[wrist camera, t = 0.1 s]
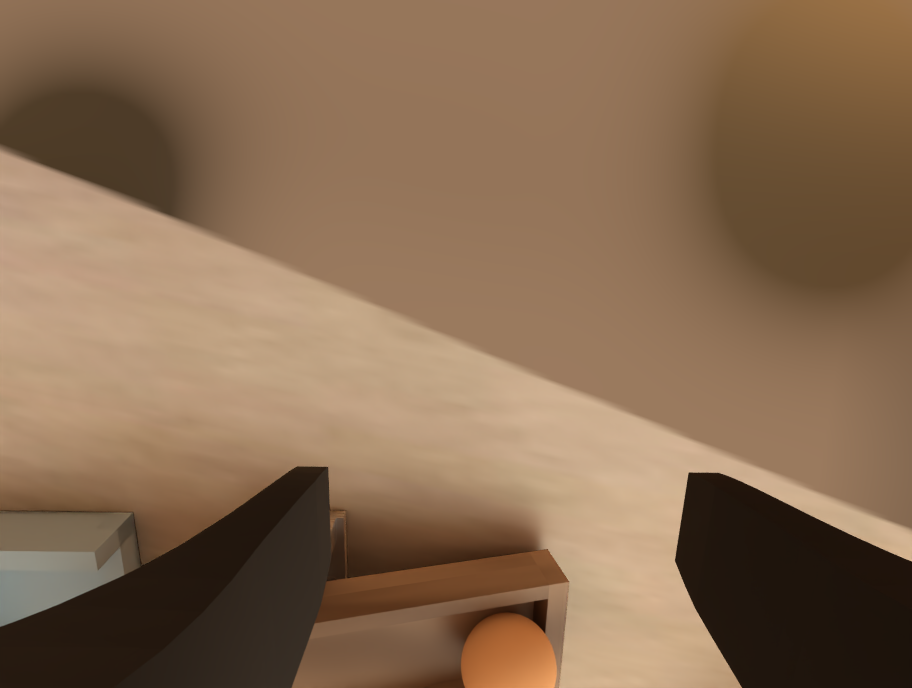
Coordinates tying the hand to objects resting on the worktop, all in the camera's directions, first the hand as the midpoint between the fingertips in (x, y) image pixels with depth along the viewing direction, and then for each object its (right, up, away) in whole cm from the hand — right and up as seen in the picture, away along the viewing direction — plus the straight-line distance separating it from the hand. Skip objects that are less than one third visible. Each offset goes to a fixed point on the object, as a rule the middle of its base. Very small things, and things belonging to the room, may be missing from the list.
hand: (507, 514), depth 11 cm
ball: (+1, -8, +9) cm, 13 cm away
